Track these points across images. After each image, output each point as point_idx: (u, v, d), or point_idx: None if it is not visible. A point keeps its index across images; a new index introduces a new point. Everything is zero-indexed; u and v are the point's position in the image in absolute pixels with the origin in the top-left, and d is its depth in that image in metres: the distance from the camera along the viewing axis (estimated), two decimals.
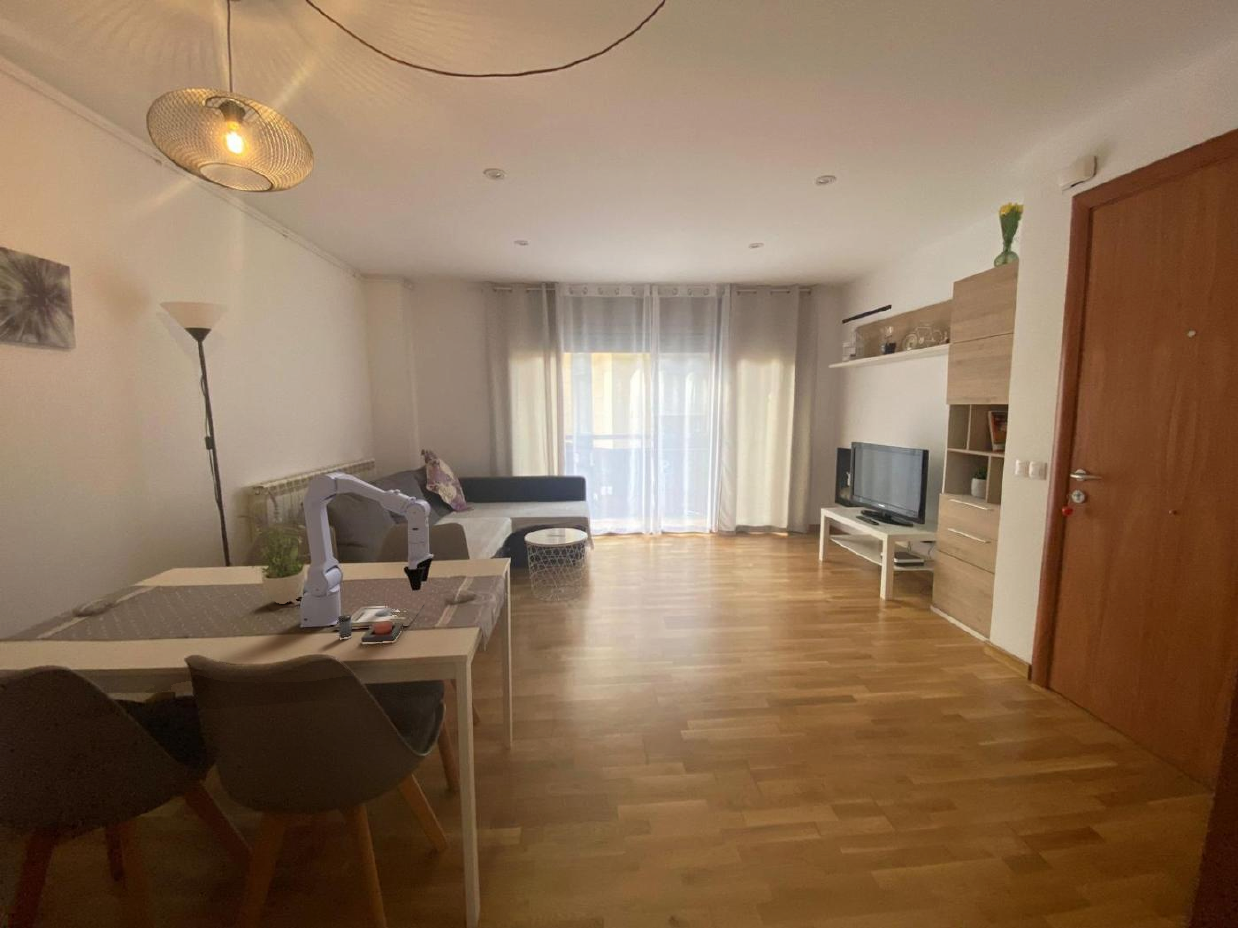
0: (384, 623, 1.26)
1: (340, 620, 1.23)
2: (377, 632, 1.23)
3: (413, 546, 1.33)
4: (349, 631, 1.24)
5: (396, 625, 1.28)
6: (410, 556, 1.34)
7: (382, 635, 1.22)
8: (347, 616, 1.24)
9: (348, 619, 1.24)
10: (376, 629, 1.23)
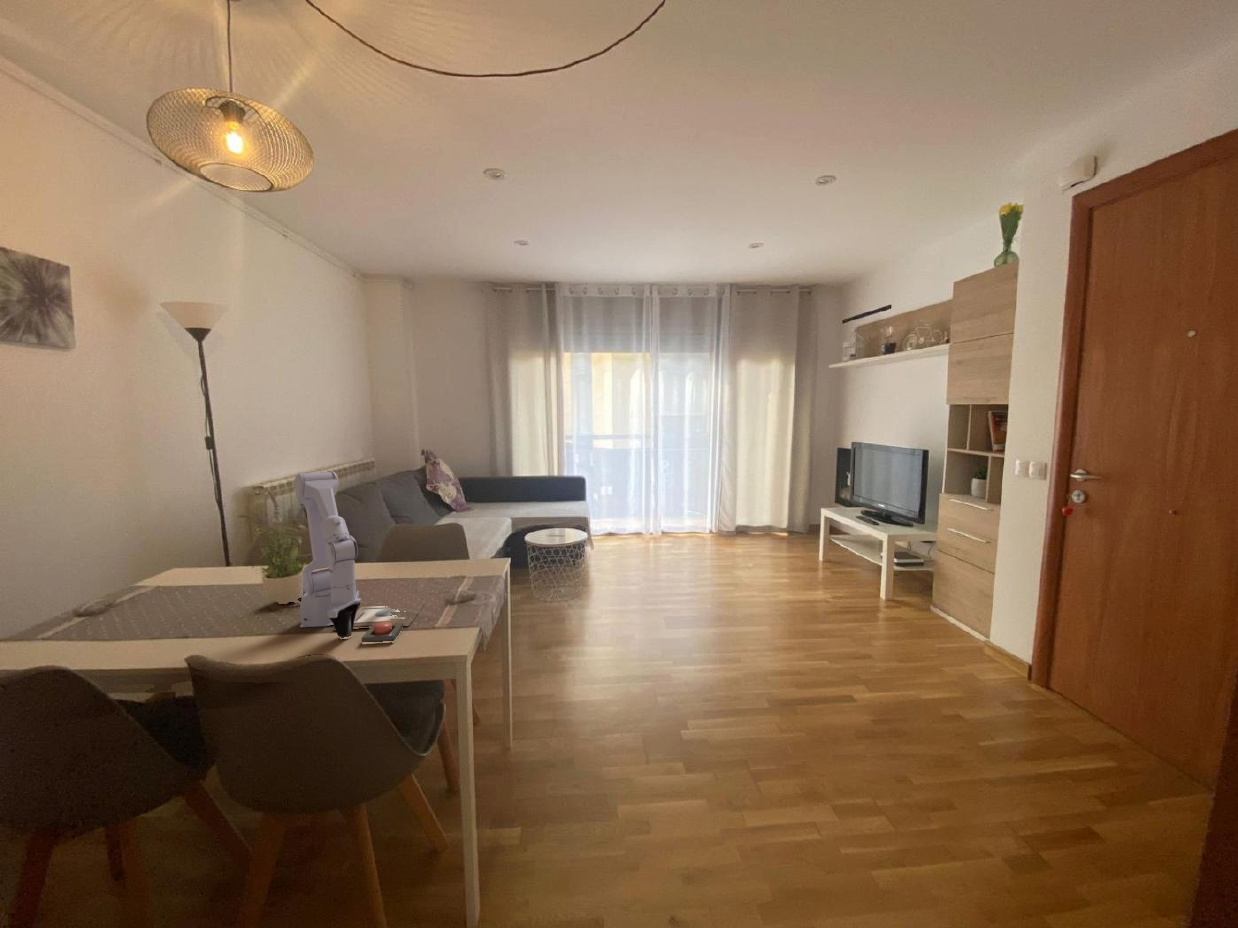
0: (384, 623, 1.26)
1: None
2: (377, 632, 1.23)
3: (335, 591, 1.21)
4: (349, 631, 1.24)
5: (396, 625, 1.28)
6: (333, 601, 1.21)
7: (382, 635, 1.22)
8: None
9: None
10: (376, 629, 1.23)
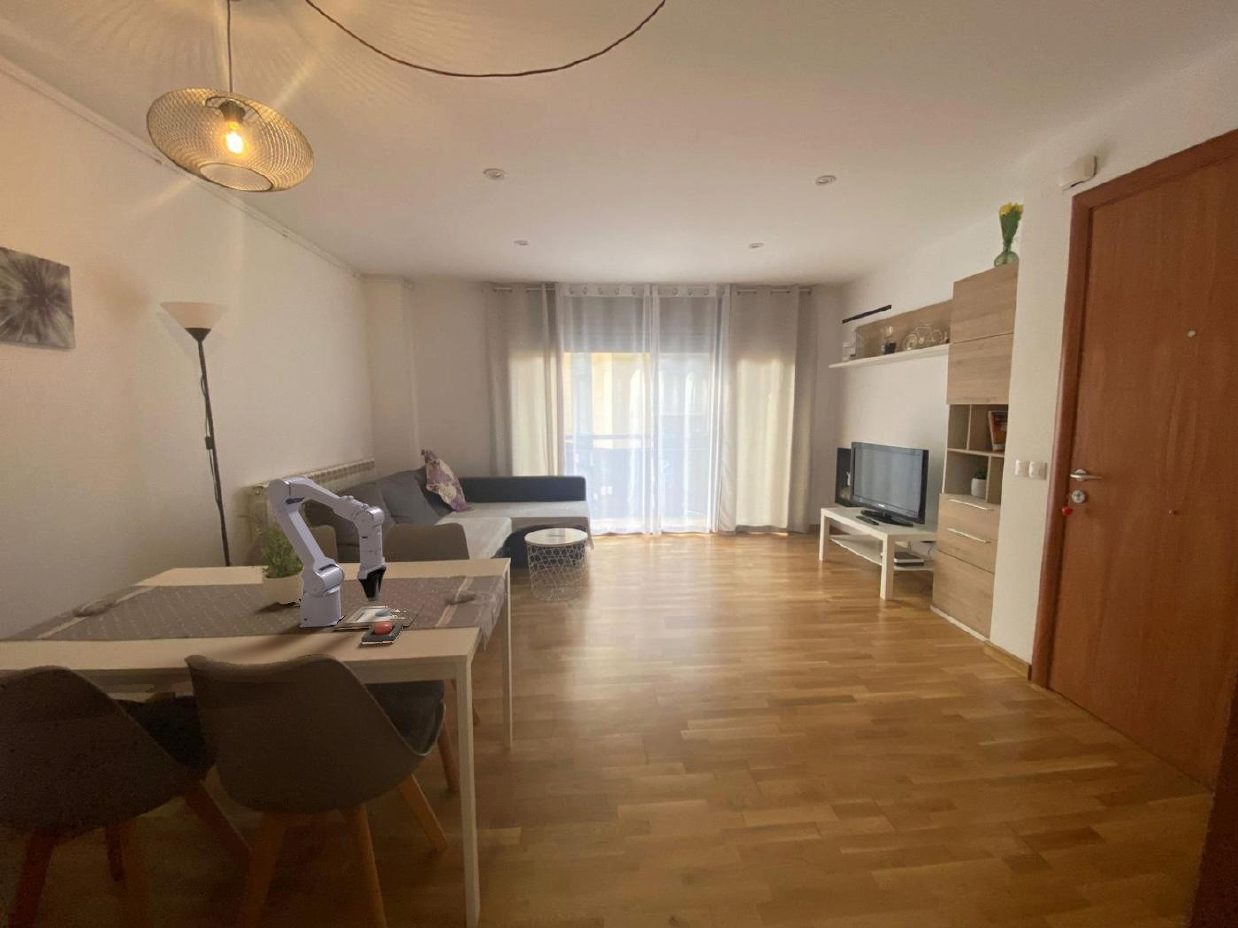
0: (384, 623, 1.26)
1: None
2: (377, 632, 1.23)
3: (364, 555, 1.29)
4: (376, 593, 1.33)
5: (396, 625, 1.28)
6: (361, 565, 1.30)
7: (382, 635, 1.22)
8: None
9: None
10: (376, 629, 1.23)
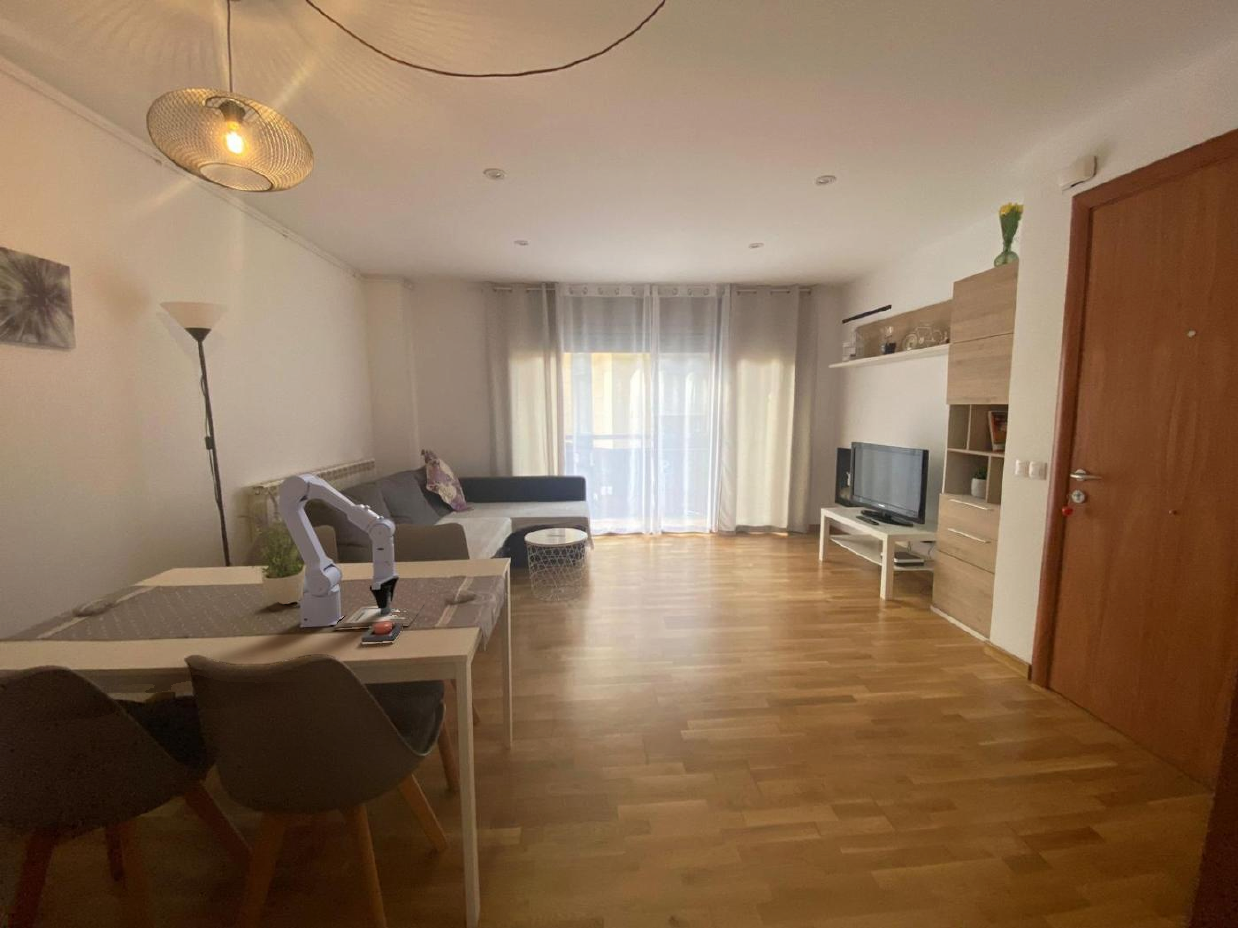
0: (384, 623, 1.26)
1: None
2: (377, 632, 1.23)
3: (377, 566, 1.34)
4: (389, 606, 1.38)
5: (396, 625, 1.28)
6: (375, 576, 1.35)
7: (382, 635, 1.22)
8: None
9: (388, 595, 1.37)
10: (376, 629, 1.23)
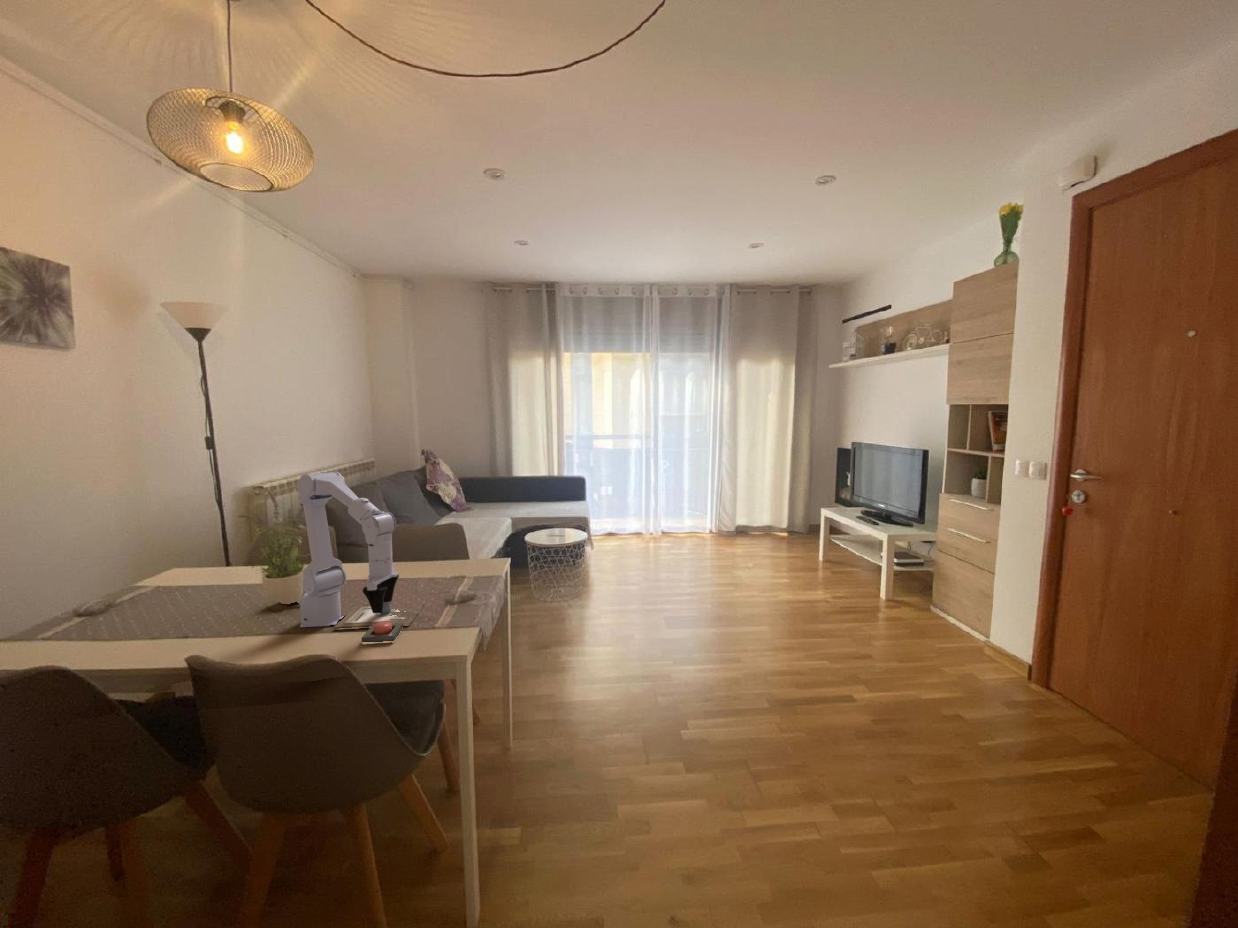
0: (384, 623, 1.26)
1: None
2: (377, 632, 1.23)
3: (374, 564, 1.21)
4: (389, 607, 1.38)
5: (396, 625, 1.28)
6: (371, 575, 1.22)
7: (382, 635, 1.22)
8: None
9: None
10: (376, 629, 1.23)
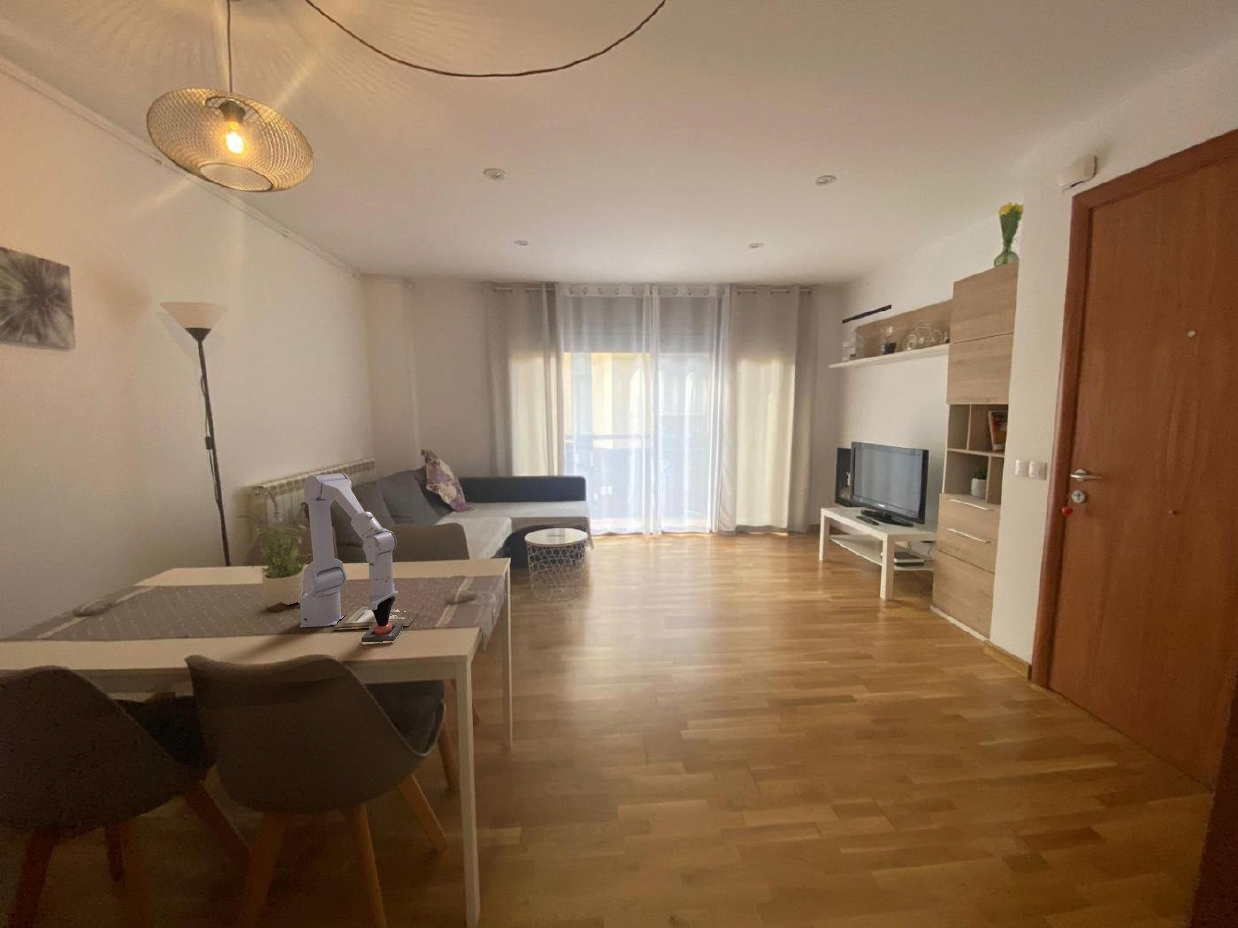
0: None
1: None
2: (377, 632, 1.23)
3: (374, 583, 1.21)
4: None
5: (396, 625, 1.28)
6: (371, 594, 1.22)
7: (382, 635, 1.22)
8: None
9: None
10: (376, 629, 1.23)
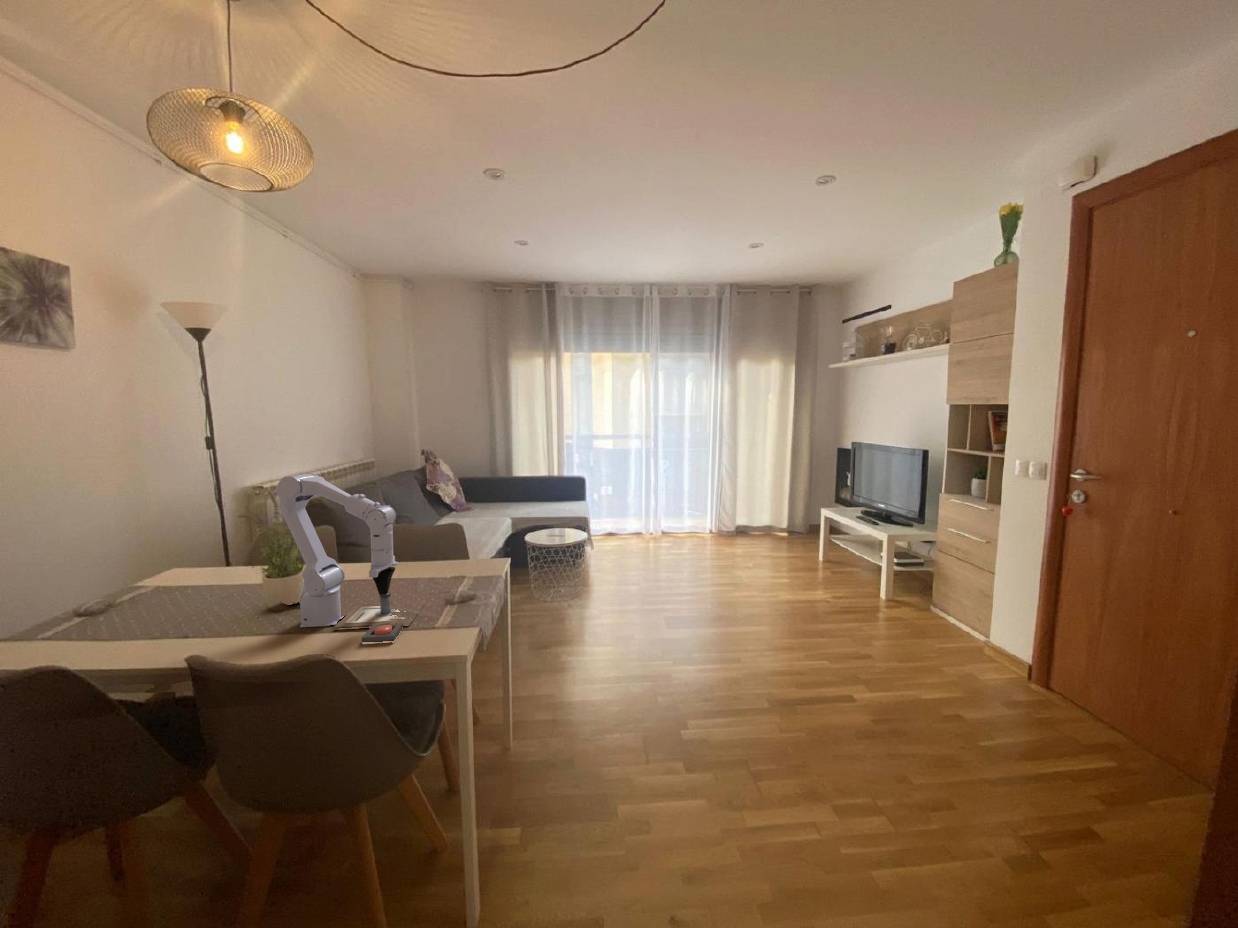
0: (384, 627, 1.26)
1: (381, 596, 1.36)
2: None
3: (375, 553, 1.30)
4: (389, 607, 1.38)
5: (396, 625, 1.28)
6: (373, 564, 1.30)
7: (382, 635, 1.22)
8: (387, 593, 1.38)
9: (388, 596, 1.37)
10: (376, 633, 1.23)
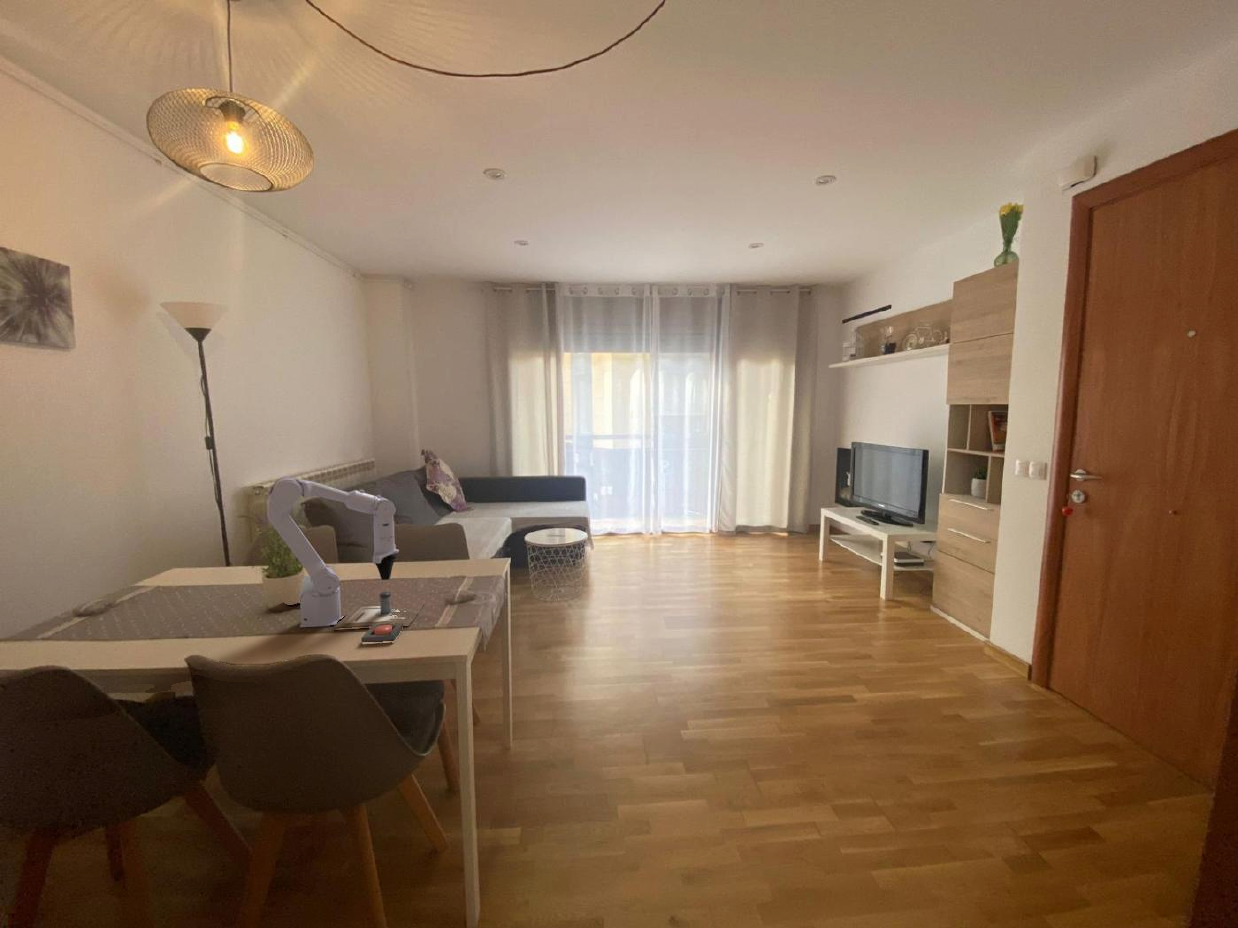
0: (384, 627, 1.26)
1: (381, 596, 1.36)
2: None
3: (378, 541, 1.40)
4: (389, 607, 1.38)
5: (396, 625, 1.28)
6: (376, 551, 1.41)
7: (382, 635, 1.22)
8: (387, 593, 1.38)
9: (388, 596, 1.37)
10: (376, 633, 1.23)
